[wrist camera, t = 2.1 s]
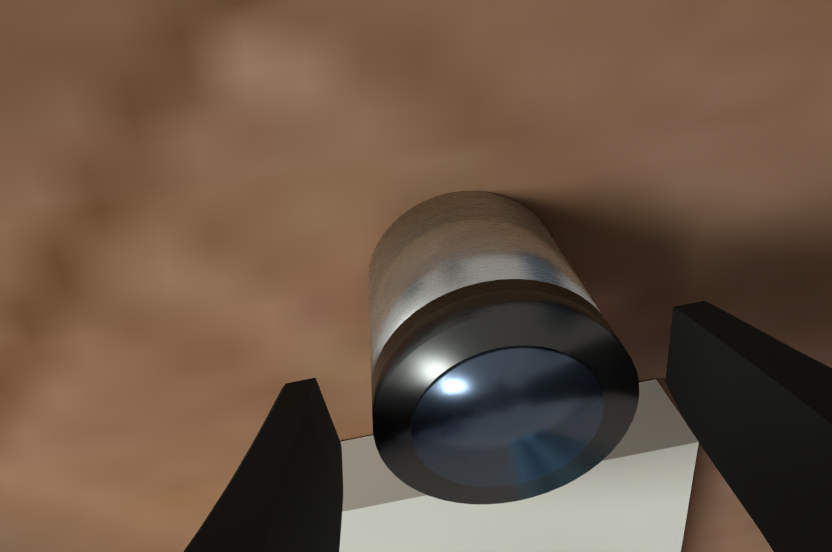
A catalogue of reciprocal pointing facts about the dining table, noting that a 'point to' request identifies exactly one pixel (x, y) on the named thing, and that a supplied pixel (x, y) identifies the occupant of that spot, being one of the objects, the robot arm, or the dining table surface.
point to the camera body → (537, 499)
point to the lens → (489, 355)
